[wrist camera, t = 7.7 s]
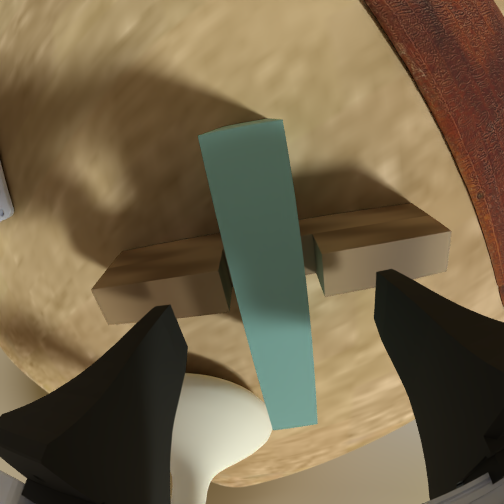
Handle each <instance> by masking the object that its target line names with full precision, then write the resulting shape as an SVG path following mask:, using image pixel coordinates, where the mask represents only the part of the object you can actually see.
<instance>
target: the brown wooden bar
mask: <svg viewBox="0 0 504 504" xmlns="http://www.w3.org/2000/svg"><path fill="white" fill-rule="evenodd" d="M298 221H299V228H300V236H301V244H302V252H303V260H304V268H305V275H308V274H314V273H316V274H317V276H318V279H319V282H320V284H321V287H322V290H323V293H324V296H325V297H328V296H333V295H339V294H344V293H349V292H354V291H359V290H364V289H369V288H374V287H376V272H378V271H383V270H388V269H394V270H396V271H398V272H400V273H402V274H403V275H405V276H407V277H409V278H411V279H416V278H420V277H425V276H429V275H433V274H437V273H442V272H446V271H447V266H448V259H449V250H450V241H451V230H449V229H448V228H447V227H445V226H444V225H442V224H441V223H440V222H438V221H437V220H435V219H434V218H433V217H431V216H430V215H428V214H427V213H425V212H424V211H422V210H421V209H419V208H418V207H417V206H415V205H414V204H412V203H409V204H401V205H394V206H387V207H380V208H373V209H366V210H359V211H352V212H346V213H339V214H333V215H326V216H320V217H313V218H307V219H301V220H298ZM232 287H233V282H232V278H231V274H230V270H229V266H228V262H227V258H226V254H225V250H224V246H223V242H222V238H221V234H220V233H217V234H212V235H206V236H200V237H195V238H189V239H184V240H179V241H173V242H168V243H162V244H157V245H152V246H147V247H141V248H136V249H131V250H126V251H122V252H121V253H120V254H119V256H118V257H117V258H116V259H115V260H114V262H113V263H112V264H111V265H110V266H109V268H108V269H107V270H106V271H105V273H104V274H103V275H102V276H101V278H100V279H99V280H98V281H97V283H96V284H95V285H94V287H93V288H92V289H91V290H92V293H93V295H94V297H95V299H96V301H97V303H98V305H99V307H100V309H101V311H102V313H103V315H104V317H105V319H106V321H107V323H108V325H111V324H124V323H135V322H138V321H139V320H141V319H142V318H143V317H144V316H145V315H146V314H147V313H148V312H149V311H150V310H151V309H152V308H154V307H155V306H161V305H170V304H171V307H172V309H173V312H174V314H175V317H176V318H185V317H193V316H202V315H210V314H218V313H225V312H230V302H231V293H232Z"/></svg>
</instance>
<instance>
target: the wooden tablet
mask: <svg viewBox="0 0 504 504" xmlns="http://www.w3.org/2000/svg"><path fill="white" fill-rule="evenodd" d="M365 2H366V4H367V5H368V6H369V8H370V9H371V11H372V13H373V14H374V15H375V16H376V18H377V20H378V22H379V23H380V25H381V26H382V28H383V29H384V31H385V32H386V34H387V35H388V37H389V39H390V40H391V42H392V43H393V45H394V47H395V48H396V50H397V52H398V53H399V55H400V56H401V58H402V59H403V61H404V63H405V64H406V66H407V67H408V69H409V70H410V72H411V74H412V76H413V78H414V80H415V81H416V83H417V85H418V88H419V89H420V91H421V93H422V95H423V96H424V98H425V100H426V102H427V104H428V106H429V108H430V109H431V111H432V113H433V115H434V117H435V119H436V121H437V123H438V125H439V127H440V129H441V130H442V132H443V134H444V137H445V139H446V141H447V143H448V145H449V147H450V149H451V152H452V154H453V156H454V158H455V160H456V163H457V166H458V168H459V170H460V173H461V175H462V177H463V179H464V182H465V184H466V186H467V188H468V191H469V193H470V196H471V199H472V202H473V204H474V207H475V209H476V213H477V216H478V219H479V222H480V225H481V228H482V231H483V234H484V237H485V240H486V244H487V247H488V250H489V253H490V257H491V261H492V265H493V268H494V272H495V277H496V281H497V285H498V286H499V292H500V295H501V299H502V303H503V305H504V16H503V15H502V13H501V11H500V10H499V8H498V6H497V5H496V3H495V2H494V0H365Z"/></svg>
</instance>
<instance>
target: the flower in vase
mask: <svg viewBox="0 0 504 504" xmlns="http://www.w3.org/2000/svg"><path fill="white" fill-rule="evenodd" d="M271 431H272V425H271V422H270V419H269V415H268V412H267V408H266V405H265V403H264V402H263V401H262V400H261V399H260V398H259V397H257V396H256V395H255V394H254V393H252V392H251V391H249V390H248V389H246V388H244V387H242V386H240V385H238V384H235V383H233V382H230V381H227V380H224V379H221V378H217V377H213V376H207V375H201V374H192V373H185V376H184V380H183V385H182V389H181V394H180V398H179V402H178V407H177V411H176V415H175V420H174V426H173V432H172V443H171V458H170V471H171V474H172V478H173V489H172V499H171V504H205V503H206V496H207V490H208V487H209V484H210V482H211V480H212V479H213V477H214V476H215V475H217V474H218V473H219V472H221V471H222V470H224V469H226V468H228V467H230V466H231V465H233V464H235V463H237V462H239V461H241V460H243V459H244V458H246V457H248V456H250V455H251V454H253V453H254V452H255V451H256V450H258V449H259V448H260V447H261V446H262V445H264V444H265V442H266V441H267V440H268V438H269V436H270V434H271Z"/></svg>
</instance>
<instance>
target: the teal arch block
mask: <svg viewBox="0 0 504 504" xmlns="http://www.w3.org/2000/svg"><path fill="white" fill-rule="evenodd" d="M198 139H199V143H200V148H201V152H202V157H203V161H204V166H205V170H206V175H207V179H208V183H209V188H210V192H211V196H212V200H213V205H214V209H215V213H216V217H217V221H218V226H219V230H220V234H221V238H222V242H223V246H224V250H225V254H226V258H227V262H228V266H229V270H230V274H231V278H232V282H233V286H234V290H235V294H236V298H237V302H238V305H239V309H240V313H241V317H242V321H243V324H244V328H245V332H246V336H247V340H248V343H249V347H250V351H251V354H252V358H253V362H254V365H255V369H256V373H257V376H258V380H259V383H260V387H261V390H262V394H263V398H264V401H265V405H266V408H267V412H268V415H269V419H270V422H271V425H272V429H273V430H279V429H287V428H294V427H301V426H308V425H314V424H317V405H316V389H315V374H314V361H313V348H312V337H311V326H310V315H309V305H308V295H307V286H306V277H305V268H304V260H303V252H302V244H301V236H300V228H299V221H298V214H297V207H296V200H295V193H294V186H293V180H292V173H291V167H290V161H289V154H288V148H287V143H286V137H285V131H284V125H283V120H281V119H262V120H256V121H250V122H245V123H239V124H234V125H229V126H224V127H221V128H218V129H215V130H213V131H210V132H207V133H204V134H201V135H198Z"/></svg>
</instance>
